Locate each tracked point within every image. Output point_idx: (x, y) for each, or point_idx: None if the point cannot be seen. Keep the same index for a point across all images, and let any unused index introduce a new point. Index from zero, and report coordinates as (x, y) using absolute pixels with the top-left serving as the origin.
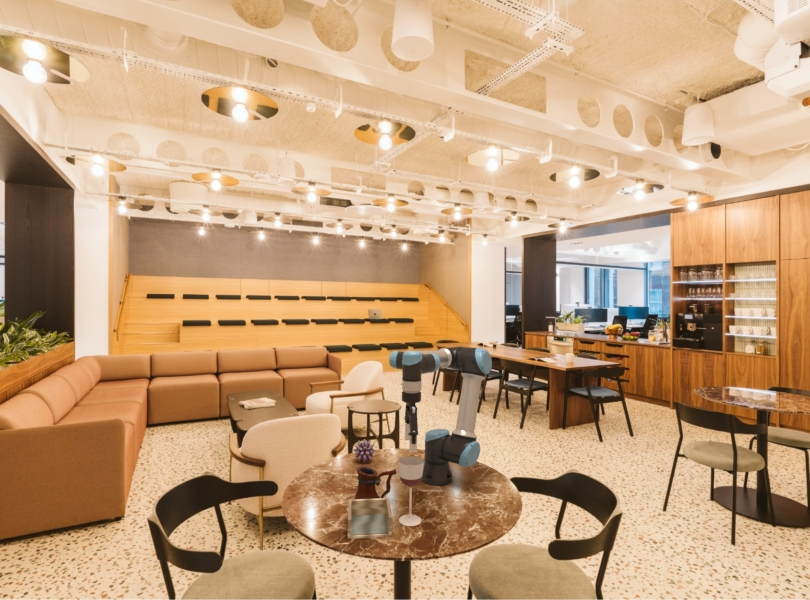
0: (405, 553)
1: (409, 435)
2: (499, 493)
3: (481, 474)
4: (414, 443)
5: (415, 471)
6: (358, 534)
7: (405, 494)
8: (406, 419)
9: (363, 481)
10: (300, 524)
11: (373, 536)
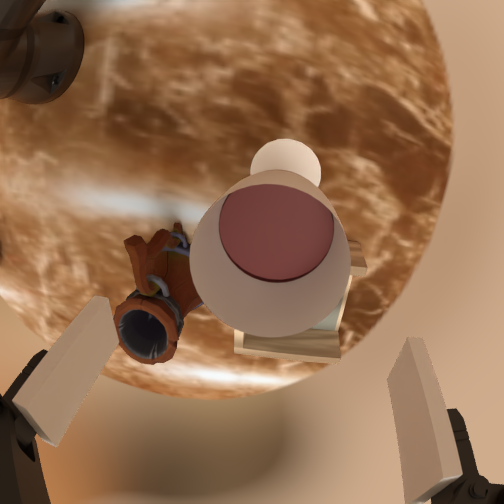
0: (433, 227)
1: (93, 342)
2: None
3: None
4: (453, 420)
5: (344, 243)
6: (338, 318)
7: (125, 157)
8: (45, 492)
9: (178, 334)
10: (257, 392)
11: (349, 286)
